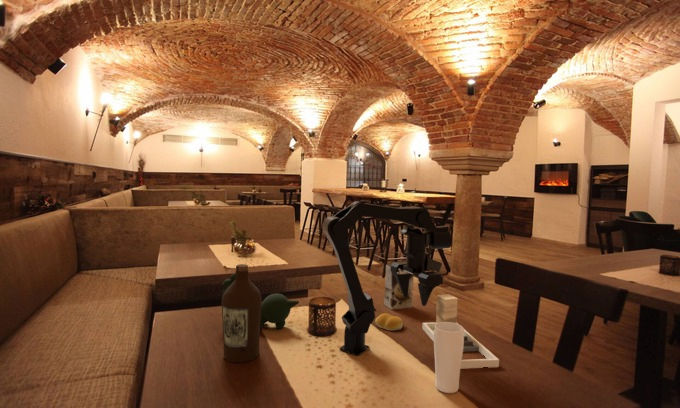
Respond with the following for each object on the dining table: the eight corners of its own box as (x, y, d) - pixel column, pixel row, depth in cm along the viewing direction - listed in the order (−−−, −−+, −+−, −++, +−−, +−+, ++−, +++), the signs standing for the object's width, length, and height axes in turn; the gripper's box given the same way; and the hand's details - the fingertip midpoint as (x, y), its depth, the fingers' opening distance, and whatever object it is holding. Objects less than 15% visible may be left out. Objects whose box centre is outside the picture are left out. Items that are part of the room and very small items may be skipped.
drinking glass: (439, 378, 99) (442, 319, 98) (466, 387, 95) (468, 326, 94) (427, 389, 94) (429, 327, 93) (454, 399, 89) (457, 334, 88)
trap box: (498, 367, 105) (499, 359, 105) (457, 368, 104) (457, 361, 104) (455, 327, 133) (456, 321, 133) (422, 328, 131) (422, 322, 131)
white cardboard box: (391, 310, 149) (392, 267, 148) (384, 304, 155) (385, 264, 154) (412, 307, 152) (414, 266, 151) (404, 302, 158) (406, 262, 157)
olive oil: (232, 345, 116) (233, 260, 114) (267, 348, 113) (267, 262, 112) (214, 361, 105) (214, 268, 103) (251, 366, 103) (252, 271, 101)
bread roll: (395, 333, 127) (395, 321, 127) (371, 326, 133) (372, 315, 132) (407, 326, 134) (408, 314, 134) (384, 319, 139) (385, 308, 139)
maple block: (456, 335, 125) (457, 298, 125) (444, 337, 124) (445, 299, 123) (447, 330, 130) (448, 294, 129) (435, 332, 128) (437, 295, 127)
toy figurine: (221, 335, 127) (298, 332, 124) (216, 276, 125) (293, 273, 123) (231, 324, 136) (303, 321, 134) (227, 269, 135) (299, 266, 133)
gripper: (459, 253, 112) (457, 307, 114) (419, 242, 129) (417, 289, 130) (427, 256, 108) (425, 312, 109) (390, 244, 124) (388, 293, 125)
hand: (414, 301), depth 118 cm, fingers open, 9 cm apart
